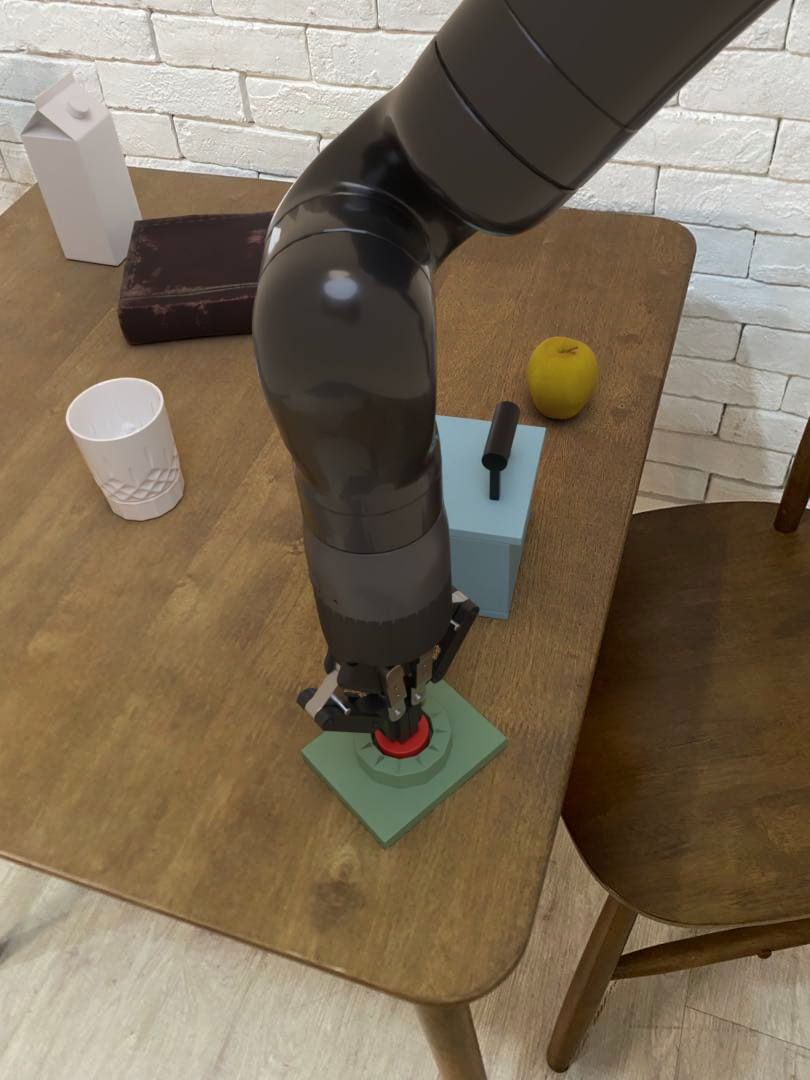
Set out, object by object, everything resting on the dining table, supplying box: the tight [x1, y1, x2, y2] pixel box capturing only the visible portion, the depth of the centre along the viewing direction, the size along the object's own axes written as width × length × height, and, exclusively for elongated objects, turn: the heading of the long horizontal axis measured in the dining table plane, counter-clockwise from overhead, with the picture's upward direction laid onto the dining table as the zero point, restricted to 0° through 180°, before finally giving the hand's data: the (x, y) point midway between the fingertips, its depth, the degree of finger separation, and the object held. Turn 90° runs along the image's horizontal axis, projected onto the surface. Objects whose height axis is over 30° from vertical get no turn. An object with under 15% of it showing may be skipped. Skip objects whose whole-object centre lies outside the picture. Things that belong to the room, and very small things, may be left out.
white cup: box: [65, 377, 185, 522], centre depth 80 cm, size 8×8×10 cm
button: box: [375, 714, 430, 759], centre depth 63 cm, size 4×4×2 cm
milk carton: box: [19, 70, 143, 267], centre depth 105 cm, size 7×7×19 cm
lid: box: [436, 400, 547, 546], centre depth 68 cm, size 14×12×6 cm
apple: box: [526, 335, 600, 420], centre depth 85 cm, size 6×6×8 cm
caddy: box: [450, 498, 533, 621], centre depth 74 cm, size 14×12×9 cm
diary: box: [116, 209, 277, 345], centre depth 102 cm, size 19×25×5 cm
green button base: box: [300, 678, 508, 851], centre depth 64 cm, size 11×9×3 cm
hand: (400, 729), depth 62 cm, fingers closed
